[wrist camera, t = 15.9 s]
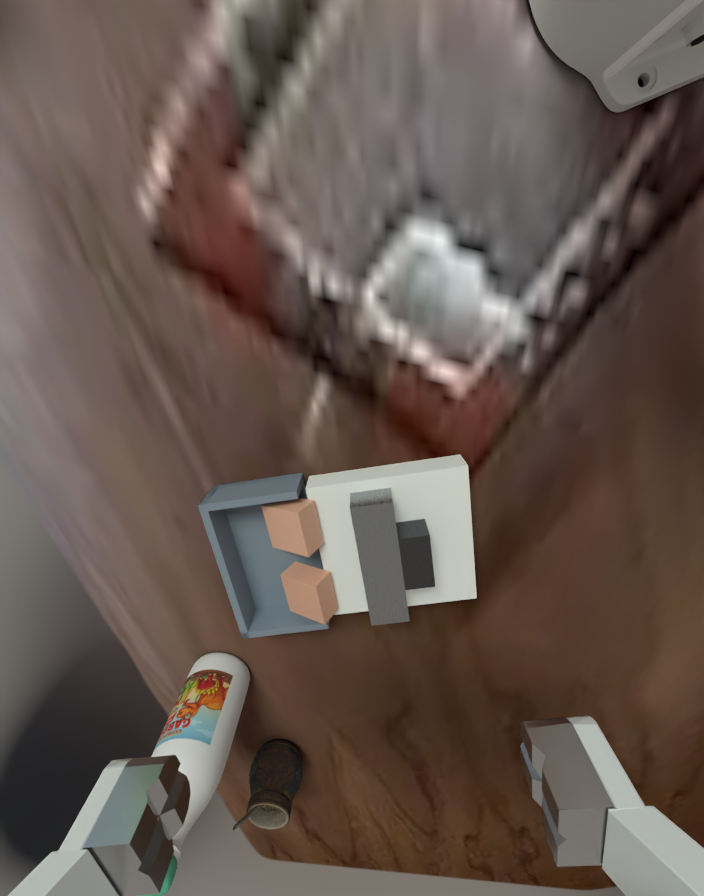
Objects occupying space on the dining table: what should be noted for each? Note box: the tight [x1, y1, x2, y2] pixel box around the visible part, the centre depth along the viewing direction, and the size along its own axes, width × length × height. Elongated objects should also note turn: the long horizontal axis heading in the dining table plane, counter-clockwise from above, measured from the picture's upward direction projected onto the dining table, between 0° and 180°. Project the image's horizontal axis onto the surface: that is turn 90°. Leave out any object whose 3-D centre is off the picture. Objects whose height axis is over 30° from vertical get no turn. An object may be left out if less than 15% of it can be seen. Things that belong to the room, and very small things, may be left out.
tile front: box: [261, 498, 324, 557], centre depth 39 cm, size 5×5×2 cm
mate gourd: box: [233, 739, 302, 830], centre depth 51 cm, size 7×8×10 cm
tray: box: [198, 473, 330, 639], centre depth 42 cm, size 10×17×4 cm, turn 9°
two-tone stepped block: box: [350, 488, 435, 626], centre depth 39 cm, size 3×14×7 cm
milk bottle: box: [139, 652, 250, 896], centre depth 41 cm, size 8×8×20 cm
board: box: [305, 455, 477, 615], centre depth 41 cm, size 16×16×3 cm
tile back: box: [280, 561, 338, 625], centre depth 42 cm, size 5×5×2 cm
